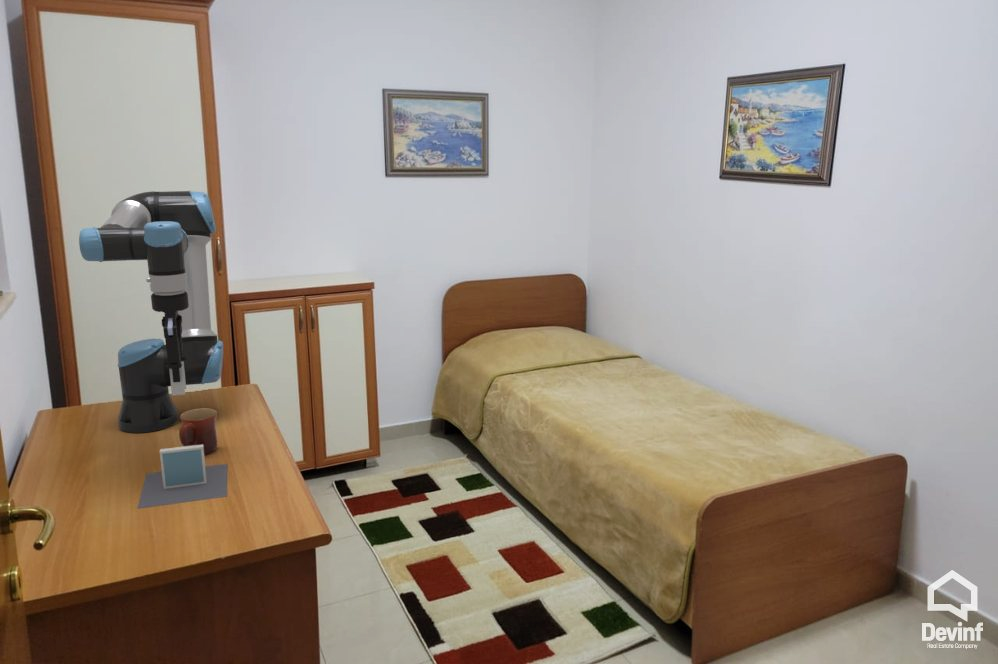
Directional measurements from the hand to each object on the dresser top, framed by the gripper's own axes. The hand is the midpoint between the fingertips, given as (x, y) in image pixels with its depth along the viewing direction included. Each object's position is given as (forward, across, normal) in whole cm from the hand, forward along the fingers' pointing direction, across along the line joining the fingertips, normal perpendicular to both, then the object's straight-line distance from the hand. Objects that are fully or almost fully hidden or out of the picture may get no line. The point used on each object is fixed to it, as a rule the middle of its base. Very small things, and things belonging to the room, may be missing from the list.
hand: (179, 391), depth 167 cm
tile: (+20, +7, 0) cm, 21 cm away
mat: (+21, +7, 0) cm, 22 cm away
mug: (+21, -11, +2) cm, 24 cm away
